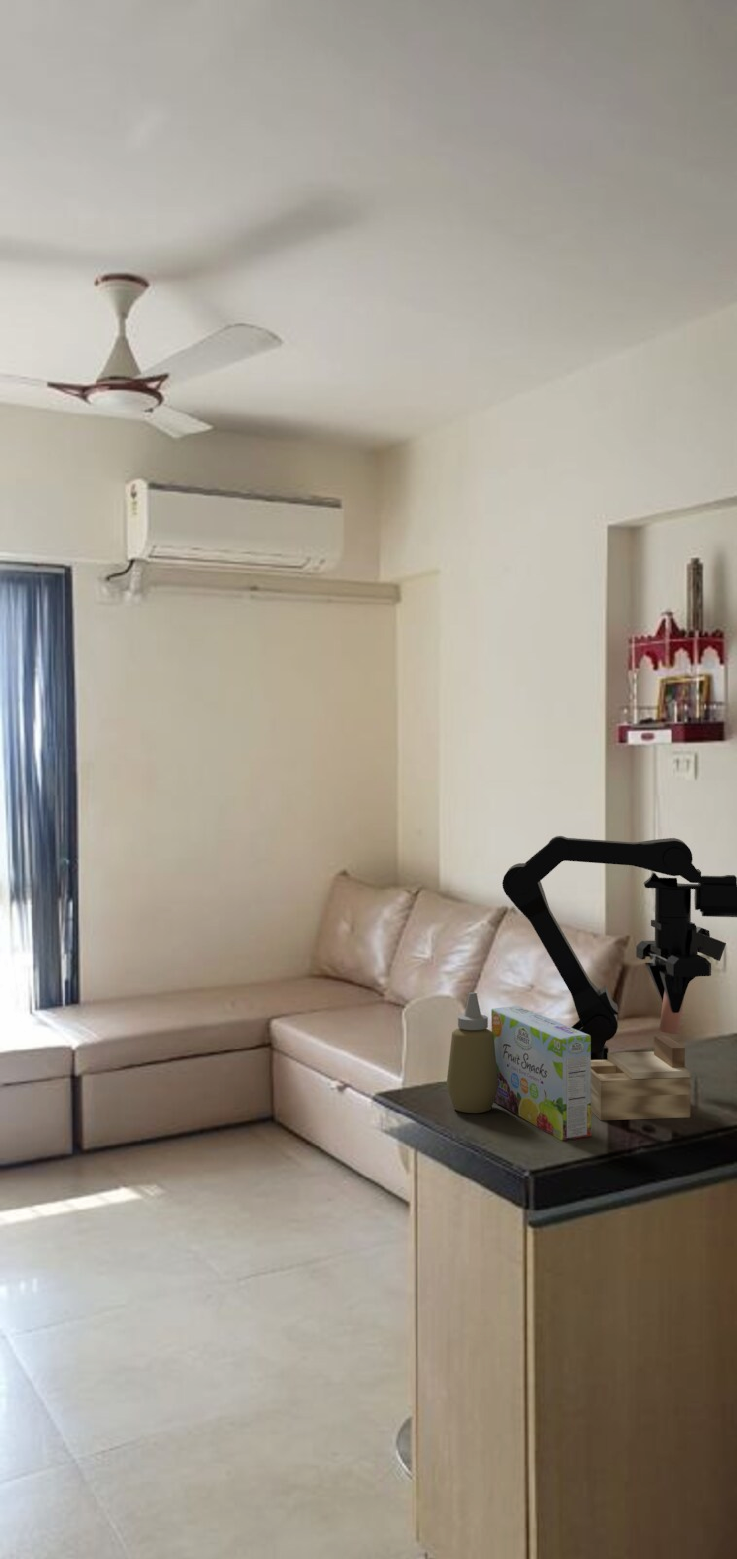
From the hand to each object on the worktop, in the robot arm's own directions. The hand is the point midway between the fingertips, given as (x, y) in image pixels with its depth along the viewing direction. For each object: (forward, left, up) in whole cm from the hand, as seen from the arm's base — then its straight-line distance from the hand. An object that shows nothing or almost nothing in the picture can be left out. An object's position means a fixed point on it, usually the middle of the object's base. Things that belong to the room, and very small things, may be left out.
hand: (671, 1010), depth 207 cm
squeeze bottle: (-35, -8, -13) cm, 38 cm away
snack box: (-26, -14, -13) cm, 32 cm away
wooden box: (-10, -10, -13) cm, 19 cm away
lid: (-8, -10, -7) cm, 14 cm away
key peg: (0, 0, -4) cm, 4 cm away
